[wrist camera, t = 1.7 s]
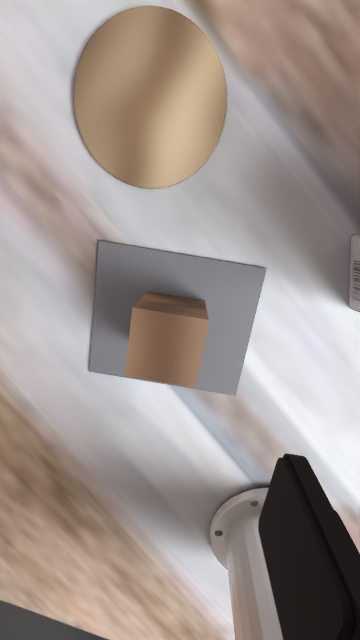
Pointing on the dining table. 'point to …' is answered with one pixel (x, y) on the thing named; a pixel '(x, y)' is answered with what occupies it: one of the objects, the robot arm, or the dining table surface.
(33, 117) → the dining table surface
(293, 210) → the dining table surface
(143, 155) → the coaster
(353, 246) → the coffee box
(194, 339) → the walnut block
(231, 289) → the gray tile
